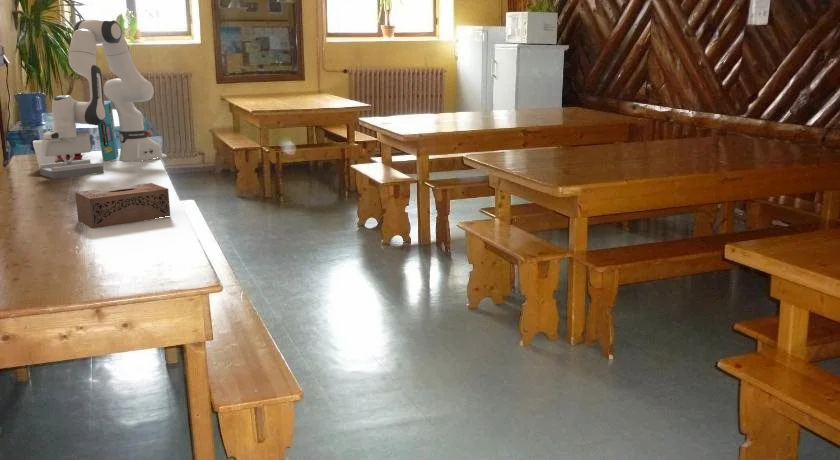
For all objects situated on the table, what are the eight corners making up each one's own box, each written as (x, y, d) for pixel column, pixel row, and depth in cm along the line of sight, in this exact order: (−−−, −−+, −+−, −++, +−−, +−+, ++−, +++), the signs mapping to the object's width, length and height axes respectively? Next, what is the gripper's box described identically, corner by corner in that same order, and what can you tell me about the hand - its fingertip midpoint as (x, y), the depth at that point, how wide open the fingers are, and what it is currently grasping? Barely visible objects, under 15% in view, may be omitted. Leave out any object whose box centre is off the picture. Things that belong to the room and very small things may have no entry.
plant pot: (78, 161, 391) (76, 136, 388) (51, 161, 391) (48, 136, 388) (89, 157, 404) (87, 133, 401) (63, 157, 404) (61, 133, 401)
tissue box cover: (154, 210, 284) (151, 182, 282) (170, 217, 273) (168, 188, 271) (78, 221, 268) (75, 191, 266) (92, 229, 258) (89, 198, 255)
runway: (90, 168, 369) (89, 159, 368) (103, 172, 360) (102, 162, 359) (40, 174, 354) (39, 164, 353) (53, 178, 345) (52, 168, 343)
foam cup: (62, 167, 373) (59, 139, 369) (51, 171, 364) (48, 142, 360) (43, 167, 373) (39, 139, 370) (31, 170, 364) (28, 142, 361)
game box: (105, 155, 411) (97, 101, 404) (119, 153, 413) (110, 100, 406) (102, 161, 392) (93, 104, 385) (116, 159, 394) (107, 103, 387)
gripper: (86, 130, 361) (88, 161, 364) (38, 134, 347) (42, 166, 350) (92, 131, 357) (95, 162, 360) (44, 135, 343) (48, 168, 346)
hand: (68, 164), depth 355 cm, fingers closed
